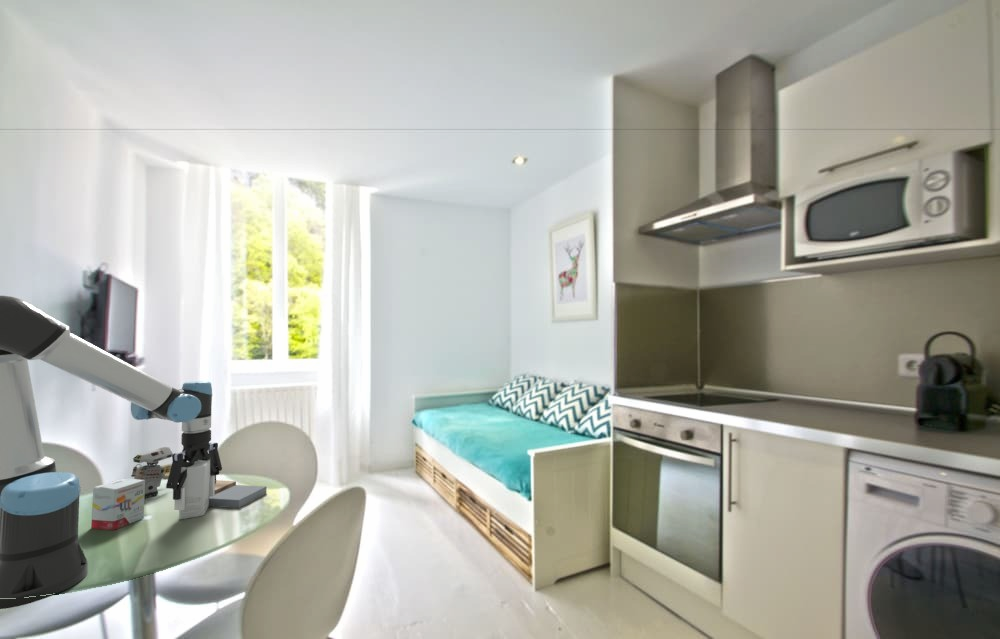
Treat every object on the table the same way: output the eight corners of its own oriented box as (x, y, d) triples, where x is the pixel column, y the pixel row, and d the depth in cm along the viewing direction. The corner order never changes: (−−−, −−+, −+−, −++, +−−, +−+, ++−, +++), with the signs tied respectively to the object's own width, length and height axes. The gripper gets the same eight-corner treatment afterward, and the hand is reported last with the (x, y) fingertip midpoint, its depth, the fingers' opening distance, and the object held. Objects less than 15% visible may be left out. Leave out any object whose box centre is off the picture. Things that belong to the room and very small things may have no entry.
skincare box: (186, 509, 129) (187, 460, 129) (211, 505, 131) (211, 457, 132) (178, 520, 121) (179, 467, 122) (204, 516, 124) (205, 464, 124)
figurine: (177, 489, 146) (178, 448, 147) (136, 500, 137) (137, 456, 137) (168, 485, 151) (169, 444, 152) (128, 495, 142) (129, 452, 142)
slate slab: (239, 508, 129) (239, 500, 129) (206, 506, 131) (206, 498, 131) (266, 493, 141) (266, 486, 141) (236, 492, 143) (236, 484, 143)
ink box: (113, 530, 115) (114, 488, 115) (90, 528, 117) (91, 487, 117) (145, 517, 123) (146, 478, 124) (123, 515, 125) (124, 476, 126)
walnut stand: (211, 500, 135) (212, 491, 136) (186, 499, 137) (186, 490, 137) (235, 489, 145) (236, 481, 145) (211, 488, 147) (211, 480, 147)
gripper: (172, 439, 116) (170, 519, 115) (235, 423, 138) (234, 489, 137) (150, 439, 117) (148, 517, 116) (216, 422, 139) (215, 488, 138)
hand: (195, 502), depth 126 cm, fingers closed on skincare box, 10 cm apart
